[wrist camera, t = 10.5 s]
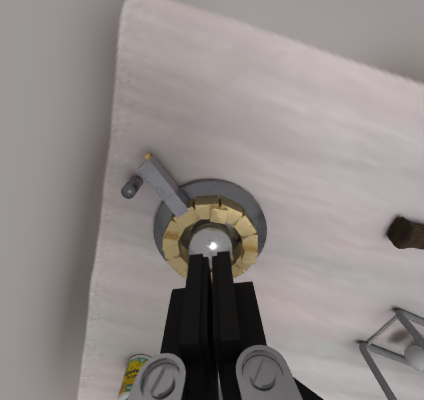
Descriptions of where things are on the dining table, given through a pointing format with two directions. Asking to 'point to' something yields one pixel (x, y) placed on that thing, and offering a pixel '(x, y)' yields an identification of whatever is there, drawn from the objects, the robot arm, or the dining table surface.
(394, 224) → the hand tool
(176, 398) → the robot arm
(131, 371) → the supplement bottle
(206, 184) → the housing
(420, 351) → the newton's cradle
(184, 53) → the dining table surface
